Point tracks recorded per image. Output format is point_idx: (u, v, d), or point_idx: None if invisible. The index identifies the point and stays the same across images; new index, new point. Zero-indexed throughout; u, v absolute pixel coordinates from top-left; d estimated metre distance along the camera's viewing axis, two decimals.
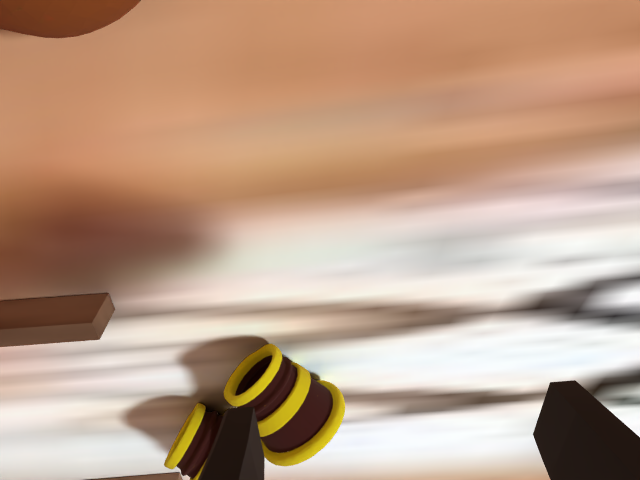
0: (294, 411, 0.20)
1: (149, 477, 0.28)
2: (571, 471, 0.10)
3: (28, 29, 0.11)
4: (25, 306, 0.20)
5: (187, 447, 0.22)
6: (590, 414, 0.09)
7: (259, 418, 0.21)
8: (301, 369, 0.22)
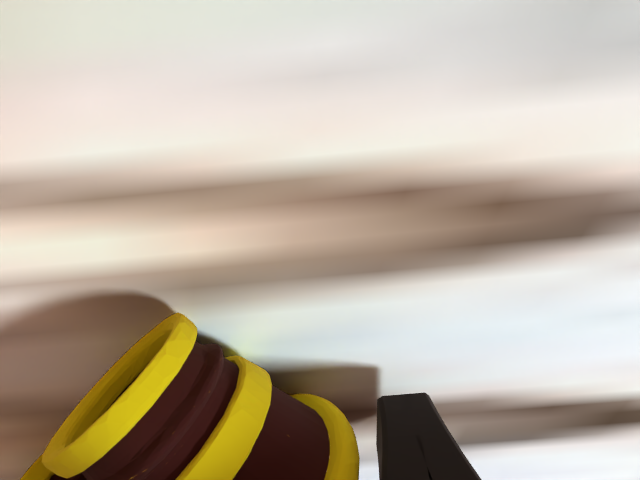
0: None
1: None
2: None
3: None
4: None
5: None
6: (422, 428, 0.09)
7: None
8: (248, 371, 0.09)
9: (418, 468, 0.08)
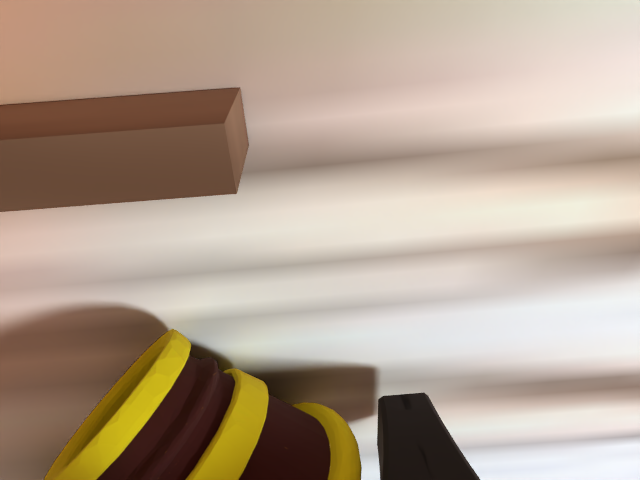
0: None
1: None
2: None
3: None
4: (7, 113, 0.07)
5: None
6: (421, 428, 0.09)
7: None
8: (244, 384, 0.09)
9: (419, 468, 0.08)
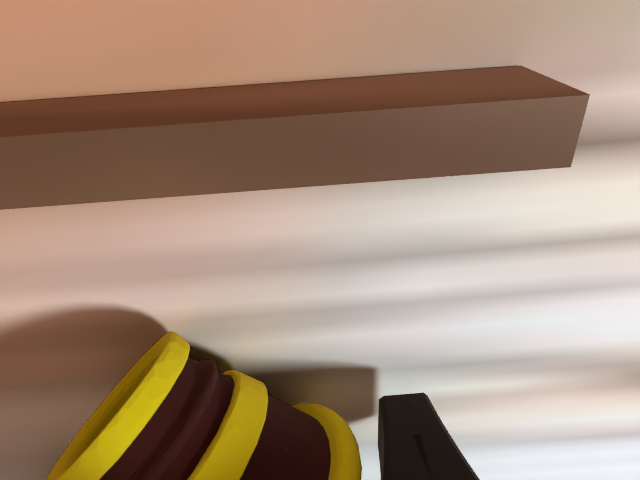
0: None
1: None
2: None
3: None
4: (309, 88, 0.07)
5: None
6: (421, 428, 0.09)
7: None
8: (243, 386, 0.09)
9: (420, 468, 0.08)
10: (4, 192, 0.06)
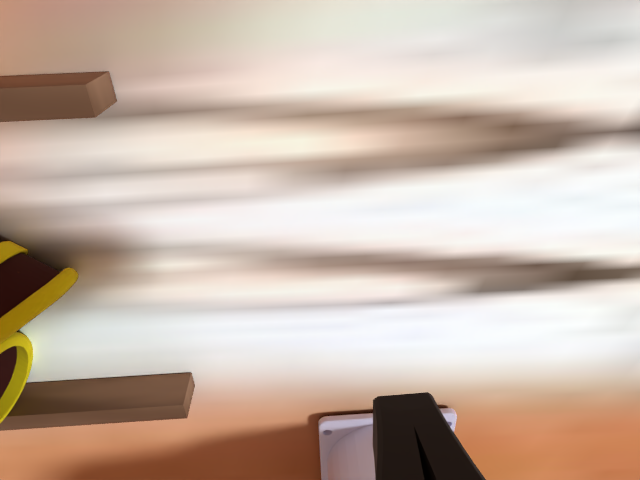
0: None
1: (153, 377, 0.23)
2: None
3: None
4: None
5: None
6: (426, 427, 0.09)
7: None
8: (3, 243, 0.17)
9: (413, 468, 0.08)
10: None
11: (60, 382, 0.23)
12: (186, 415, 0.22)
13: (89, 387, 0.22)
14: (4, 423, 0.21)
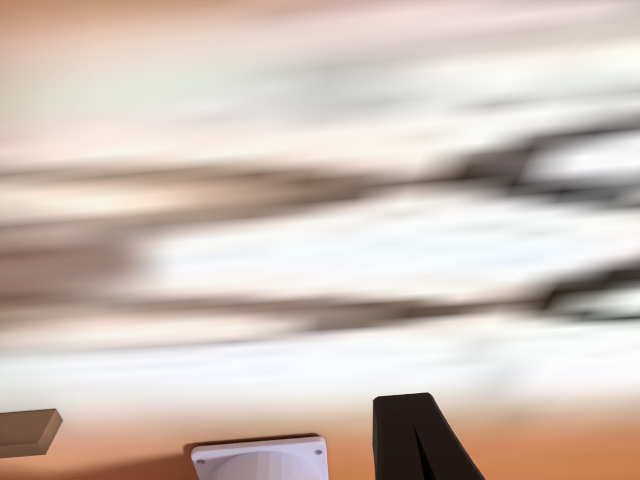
0: None
1: (19, 414, 0.24)
2: None
3: None
4: None
5: None
6: (425, 427, 0.09)
7: None
8: None
9: (413, 468, 0.08)
10: None
11: None
12: (44, 452, 0.23)
13: None
14: None
